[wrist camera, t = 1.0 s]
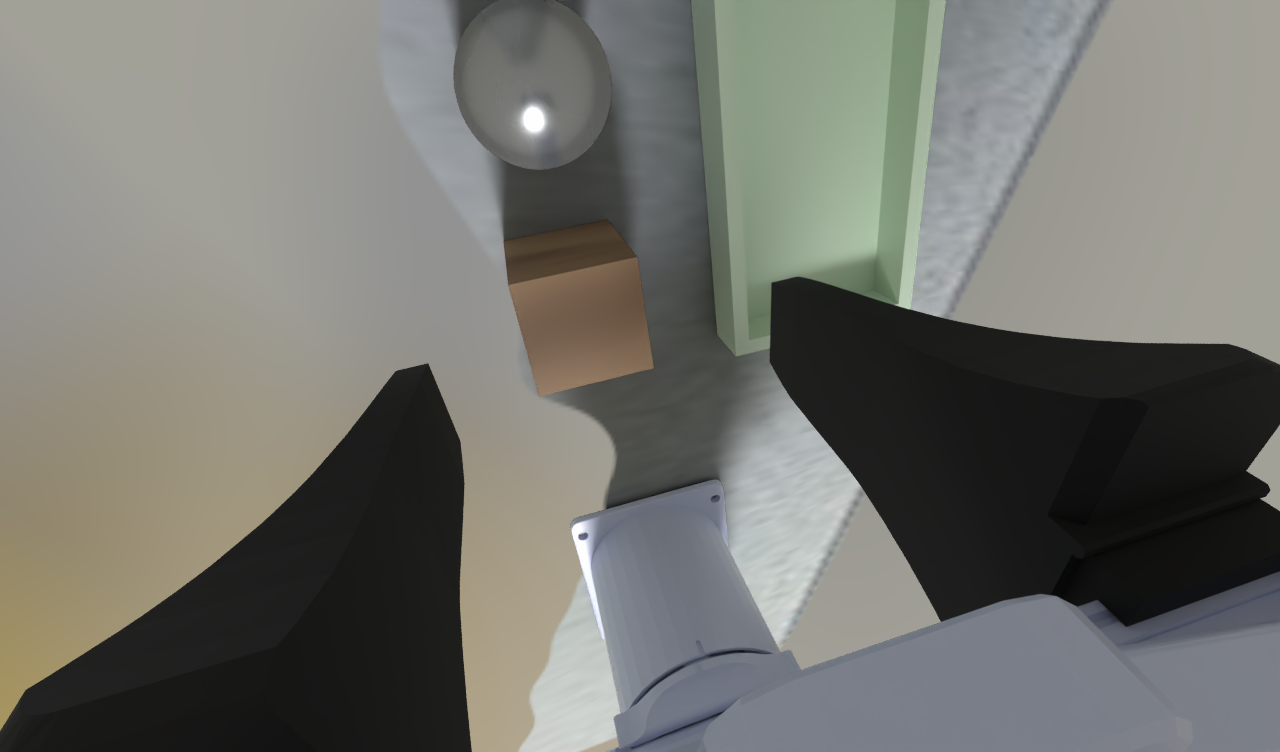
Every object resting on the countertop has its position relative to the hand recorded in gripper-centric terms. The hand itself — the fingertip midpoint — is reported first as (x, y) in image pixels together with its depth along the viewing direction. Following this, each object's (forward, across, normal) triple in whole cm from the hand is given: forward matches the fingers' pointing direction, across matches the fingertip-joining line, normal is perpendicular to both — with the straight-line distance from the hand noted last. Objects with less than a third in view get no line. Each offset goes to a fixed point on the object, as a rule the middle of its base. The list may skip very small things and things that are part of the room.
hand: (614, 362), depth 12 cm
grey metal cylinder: (+12, 0, -4) cm, 12 cm away
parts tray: (+11, -10, -1) cm, 15 cm away
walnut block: (+11, 0, +3) cm, 11 cm away
